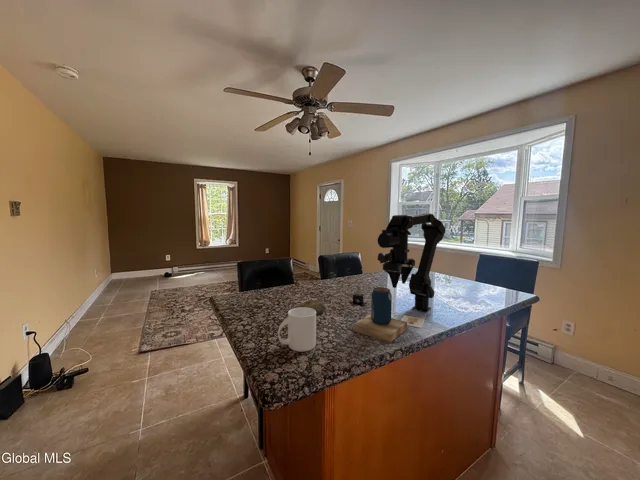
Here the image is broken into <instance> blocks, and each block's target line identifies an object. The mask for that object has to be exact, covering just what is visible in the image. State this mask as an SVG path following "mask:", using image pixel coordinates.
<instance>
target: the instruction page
mask: <svg viewBox="0 0 640 480" xmlns="http://www.w3.org/2000/svg"><path fill="white" fill-rule="evenodd" d="M400 320H401V321H405V322H407V327H414V328H418V329H422V327H423V325H424V323H425V320H426V318H423V317H417V316H411V315H403V316H402V318H401V319H400Z"/></svg>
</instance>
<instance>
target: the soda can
mask: <svg viewBox="0 0 640 480" xmlns="http://www.w3.org/2000/svg"><path fill="white" fill-rule="evenodd" d="M392 295H393V294H392V292H391V289H390V288H387V287H380V286H379V287H378V286H377V287H374V288H373V290H372V292H371V302H370V304H371V306H370V309H371V311H370V312H371V313H370V314H371V319H372V321H373V323H374V324H376V325H381V326H385V325H388V324H389V323H390V321H391V318H392V302H393V301H392V298H393V296H392Z"/></svg>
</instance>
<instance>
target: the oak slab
mask: <svg viewBox="0 0 640 480" xmlns="http://www.w3.org/2000/svg"><path fill="white" fill-rule="evenodd" d="M407 329H408V326H407V322H405V321H401V319H396V318H393V317H391V321H390V323H389V324H388V325H385V326H381V325H376V324H374V323H373V321H372V319H371V313H370V314H368V315H366V316H365V317H363V318H361V319H360V320H358V321H356V322H354V323H353V325H352V331H353V332H356V333H359V334H362V335H366V336H368V337H371V338H375V339H378V340H381V341H384V342H387V343H392V342H393V341H394V340H395V339H397V338H398V337H399V336H401V335H402V334H403V333H404V332H406V330H407Z"/></svg>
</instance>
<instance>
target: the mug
mask: <svg viewBox="0 0 640 480" xmlns="http://www.w3.org/2000/svg"><path fill="white" fill-rule="evenodd" d="M285 326H287V338H286V339H283V338H282V337H281V335H280V332H281V330H282V328H283V327H285ZM277 331H278V332H277V334H278V335H277V337H278V339H279V341H280V343H281V344H283V345H285V346H286V345H287V346H288V347H289V348H290V349H291V350H292V351H294V352H300V353H301V352H309V351H312V350H313V349H314V348H315V347H316V344H317V316H316V311H315V310H314V309H312V308H307V307H299V308H295V307H294V308H291V309H289V310H288V311H287V318H285V319H284V320H283V321H282V322H281V323H280V325H279V327H278V329H277Z"/></svg>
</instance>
